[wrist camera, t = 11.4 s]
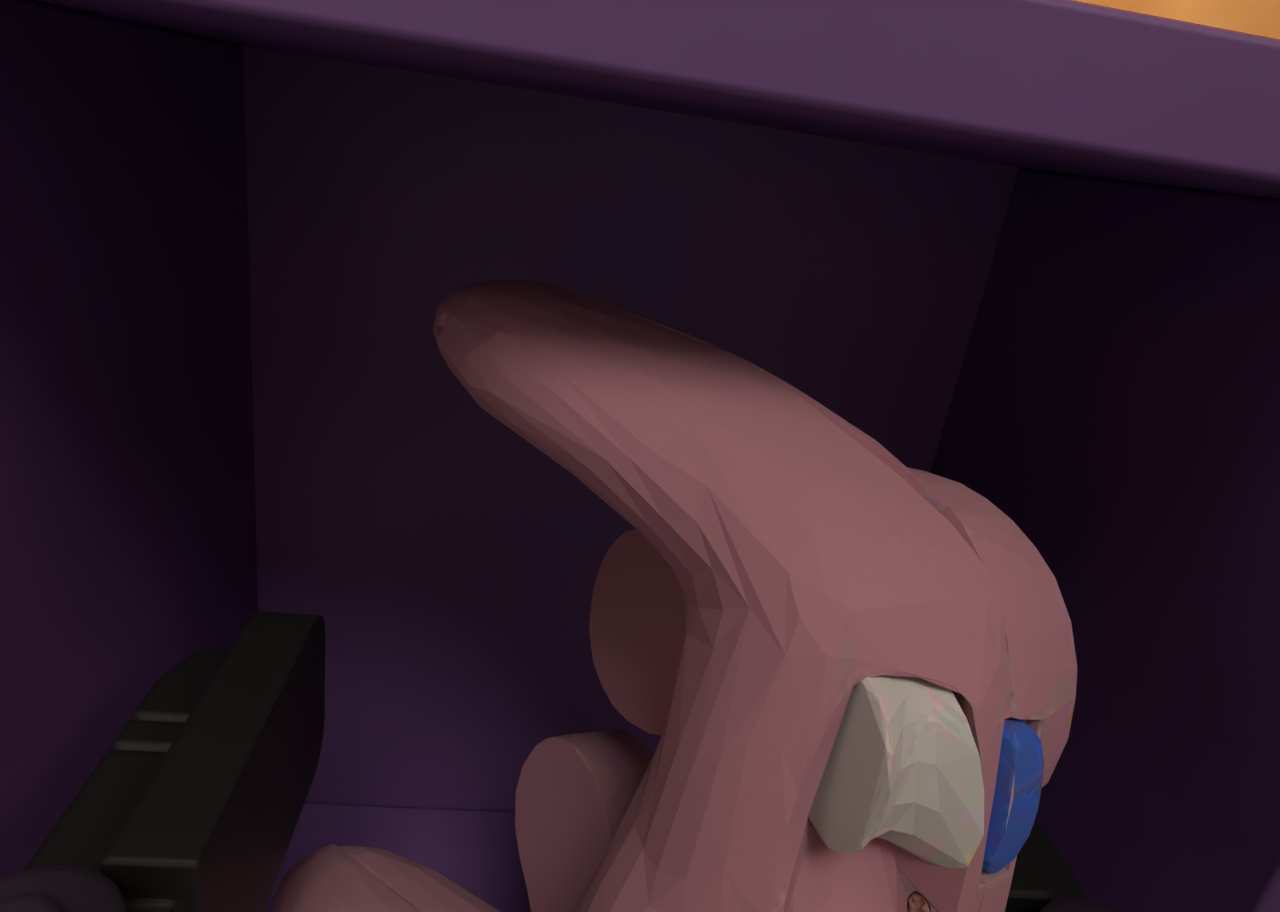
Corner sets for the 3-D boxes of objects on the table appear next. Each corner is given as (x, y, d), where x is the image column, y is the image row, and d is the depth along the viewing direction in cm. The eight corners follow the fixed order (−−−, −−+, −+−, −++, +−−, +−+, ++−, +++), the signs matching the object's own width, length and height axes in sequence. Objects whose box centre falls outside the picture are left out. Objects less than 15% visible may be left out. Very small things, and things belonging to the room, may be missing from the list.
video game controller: (531, 841, 14) (783, 1346, 9) (245, 904, 12) (380, 1663, 7) (750, 303, 11) (1323, 627, 6) (424, 216, 8) (965, 671, 3)
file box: (237, 798, 18) (-56, 1421, 9) (204, -20, 12) (-607, -323, 4) (841, 824, 20) (1054, 1365, 11) (1054, 122, 14) (1811, 138, 6)
